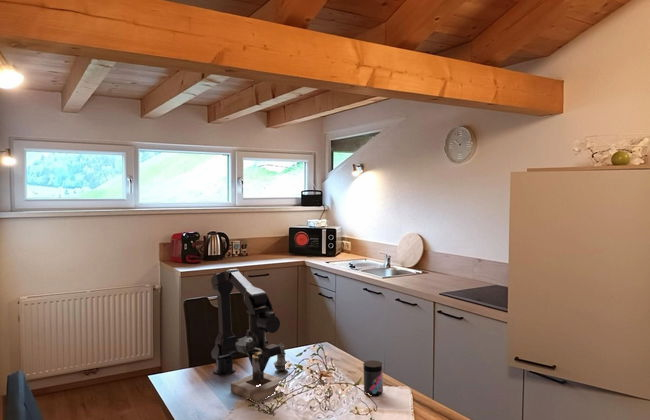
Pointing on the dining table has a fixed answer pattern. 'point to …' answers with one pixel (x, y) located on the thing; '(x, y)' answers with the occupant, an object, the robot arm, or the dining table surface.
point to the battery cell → (256, 367)
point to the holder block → (249, 389)
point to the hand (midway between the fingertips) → (258, 370)
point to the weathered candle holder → (281, 362)
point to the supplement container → (373, 377)
